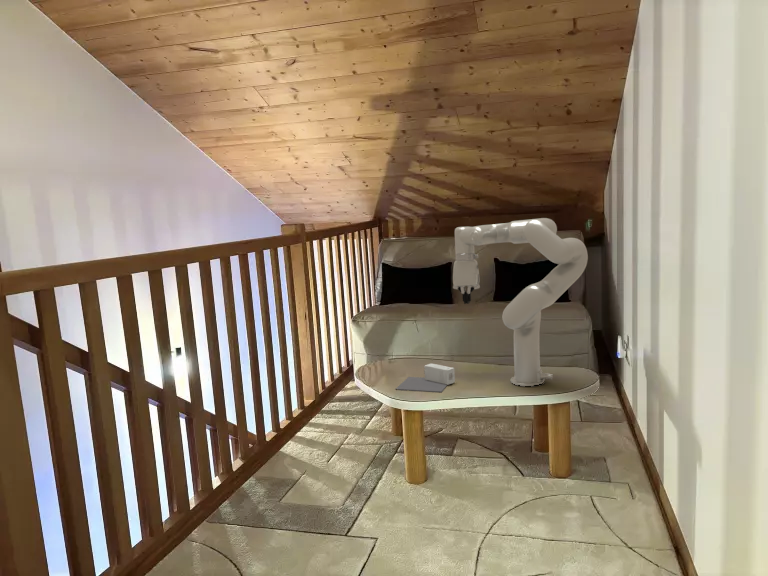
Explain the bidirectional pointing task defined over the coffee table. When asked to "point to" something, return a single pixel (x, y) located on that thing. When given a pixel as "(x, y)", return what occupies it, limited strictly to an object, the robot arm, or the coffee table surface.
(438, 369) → the skincare box
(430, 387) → the mat
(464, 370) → the coffee table surface
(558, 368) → the coffee table surface
